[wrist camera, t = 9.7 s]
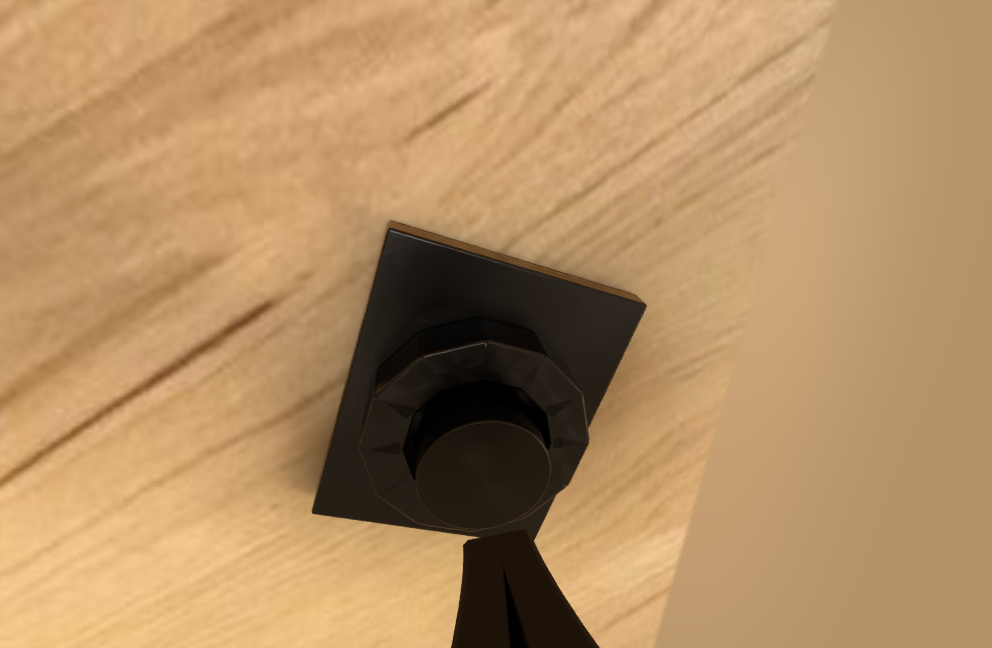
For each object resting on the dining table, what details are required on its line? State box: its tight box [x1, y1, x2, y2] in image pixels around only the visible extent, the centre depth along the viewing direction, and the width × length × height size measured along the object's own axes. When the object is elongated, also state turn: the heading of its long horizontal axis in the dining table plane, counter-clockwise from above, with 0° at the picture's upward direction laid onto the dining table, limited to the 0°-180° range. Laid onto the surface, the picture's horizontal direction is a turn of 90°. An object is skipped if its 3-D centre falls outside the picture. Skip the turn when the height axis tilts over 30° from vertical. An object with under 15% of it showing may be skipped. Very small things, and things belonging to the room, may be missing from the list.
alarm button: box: [415, 386, 551, 529], centre depth 14 cm, size 4×4×2 cm
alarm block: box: [312, 221, 647, 540], centre depth 16 cm, size 8×10×2 cm
